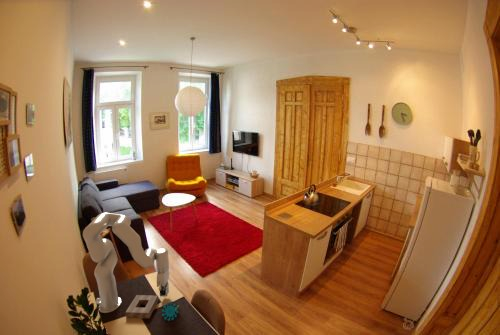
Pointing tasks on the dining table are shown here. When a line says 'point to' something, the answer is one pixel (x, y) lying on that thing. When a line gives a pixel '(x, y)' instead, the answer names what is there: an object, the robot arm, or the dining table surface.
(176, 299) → the dining table surface
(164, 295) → the peg
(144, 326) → the dining table surface
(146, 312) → the bore block
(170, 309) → the gear
